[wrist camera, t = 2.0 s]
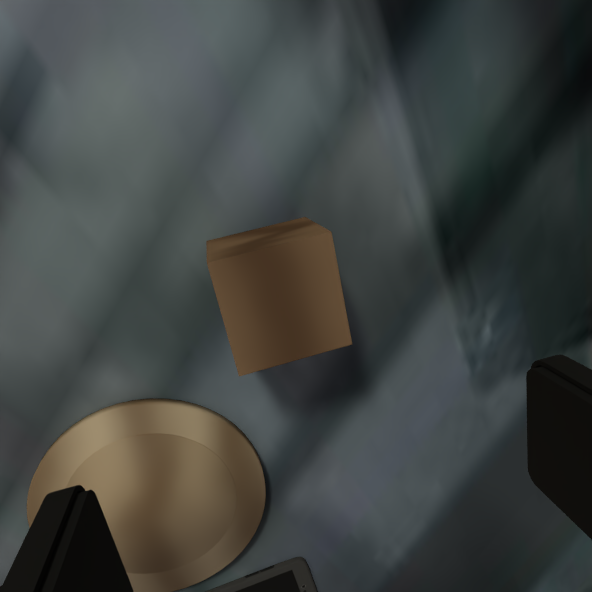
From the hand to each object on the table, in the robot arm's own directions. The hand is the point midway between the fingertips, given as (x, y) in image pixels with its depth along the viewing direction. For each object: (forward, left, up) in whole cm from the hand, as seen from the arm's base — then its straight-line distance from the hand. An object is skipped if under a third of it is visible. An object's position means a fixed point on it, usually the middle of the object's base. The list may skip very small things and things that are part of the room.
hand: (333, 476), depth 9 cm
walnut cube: (-1, +1, -19) cm, 19 cm away
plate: (+10, +14, -19) cm, 25 cm away
